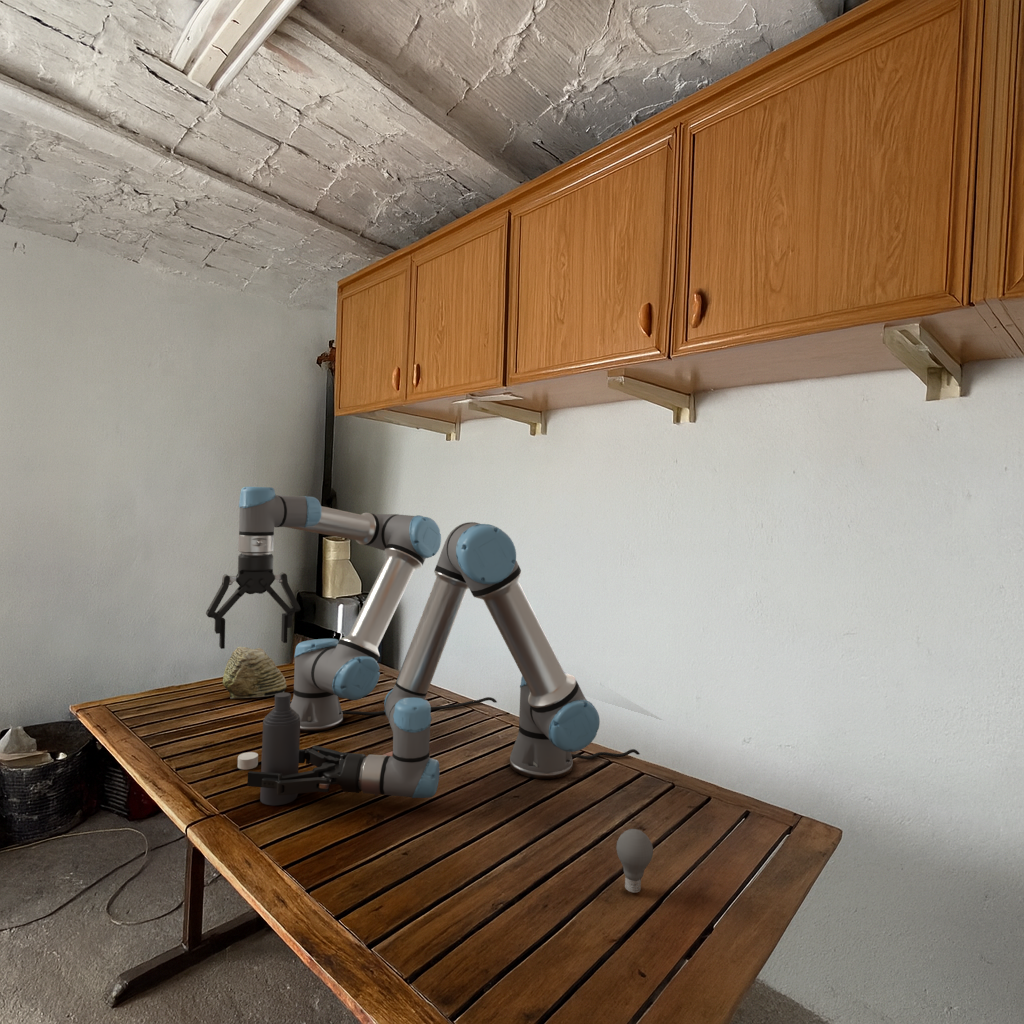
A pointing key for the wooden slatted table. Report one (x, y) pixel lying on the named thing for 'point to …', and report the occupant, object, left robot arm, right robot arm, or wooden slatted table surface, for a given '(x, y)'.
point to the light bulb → (634, 857)
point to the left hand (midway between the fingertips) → (253, 644)
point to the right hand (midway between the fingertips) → (262, 765)
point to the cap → (247, 760)
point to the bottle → (280, 747)
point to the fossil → (252, 674)
